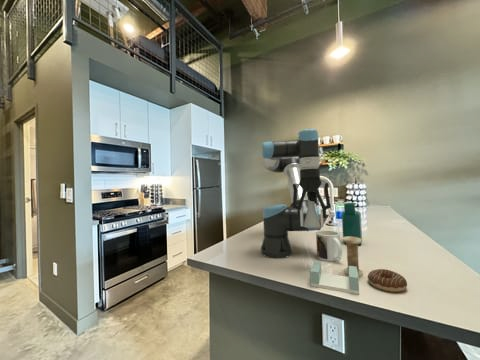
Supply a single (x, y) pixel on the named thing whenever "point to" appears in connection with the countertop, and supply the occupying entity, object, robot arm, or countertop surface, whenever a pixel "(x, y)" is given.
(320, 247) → the mug
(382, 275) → the donut
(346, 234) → the green bottle
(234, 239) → the countertop surface
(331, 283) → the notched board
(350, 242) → the bobbin
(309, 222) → the flask
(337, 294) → the countertop surface
